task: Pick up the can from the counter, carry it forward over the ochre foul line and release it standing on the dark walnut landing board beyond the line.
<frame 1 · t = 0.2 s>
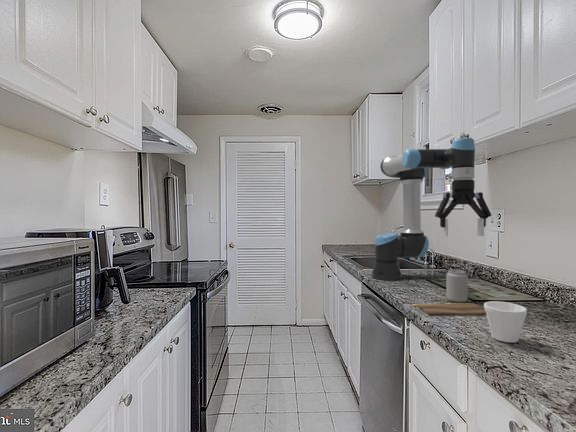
hand: (462, 235, 120), 26 cm above the countertop, fingers open, 13 cm apart
foul line: (443, 305, 120), on the countertop
landing board: (453, 310, 114), on the countertop
cup: (504, 339, 89), on the countertop
can: (456, 301, 126), on the countertop
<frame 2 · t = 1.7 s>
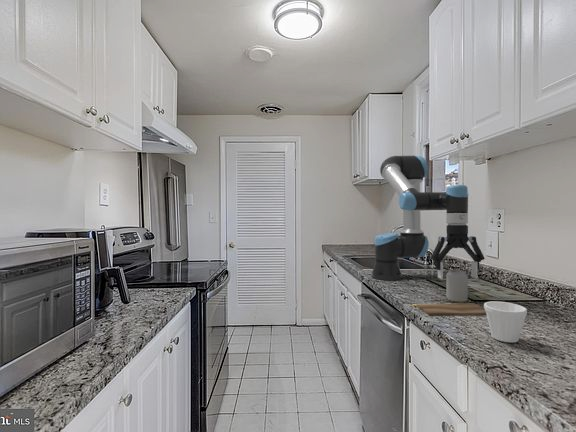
hand: (457, 278, 125), 9 cm above the countertop, fingers open, 13 cm apart
nothing on the countertop moved.
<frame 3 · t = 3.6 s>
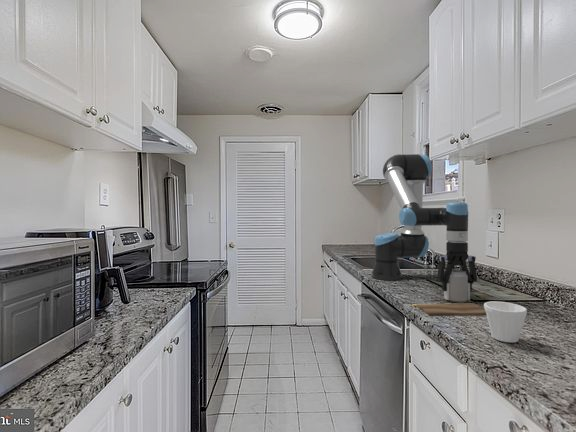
hand: (456, 298, 126), 1 cm above the countertop, fingers closed on can, 7 cm apart
can: (456, 301, 126), on the countertop, touching gripper
everything else where it was.
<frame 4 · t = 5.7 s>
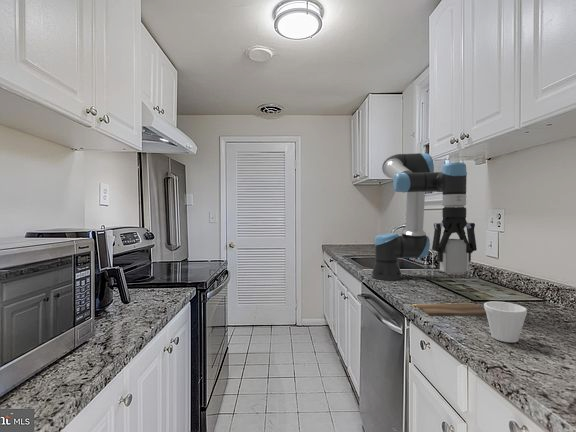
hand: (454, 270, 113), 14 cm above the countertop, fingers closed on can, 7 cm apart
can: (454, 273, 113), point 14 cm above the countertop, touching gripper
everything else where it was.
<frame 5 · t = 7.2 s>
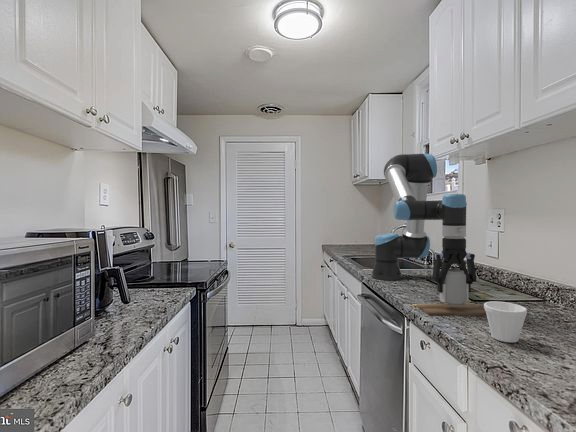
hand: (453, 301, 113), 4 cm above the countertop, fingers closed on can, 7 cm apart
can: (454, 303, 113), point 3 cm above the countertop, touching gripper
everything else where it was.
when the fingers open (3 cm above the countertop, at t = 8.1 s): can drops 1 cm, resting on landing board.
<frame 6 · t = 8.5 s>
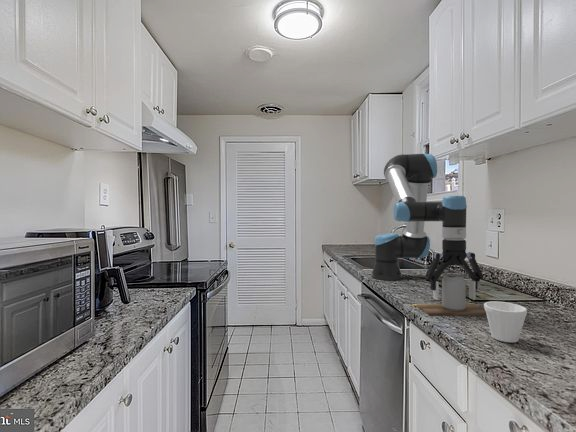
hand: (453, 298, 113), 4 cm above the countertop, fingers open, 12 cm apart
can: (453, 309, 113), point 1 cm above the countertop, touching landing board
everything else where it was.
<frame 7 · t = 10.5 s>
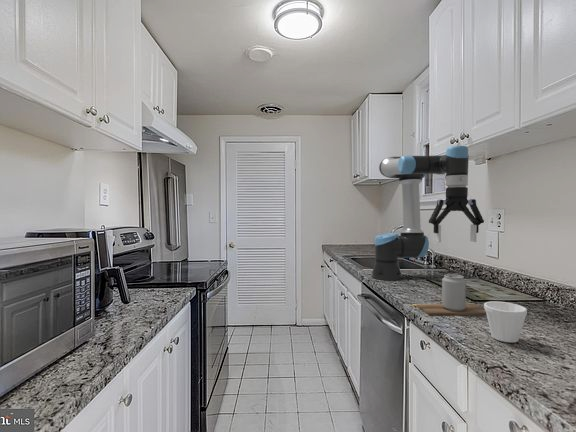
hand: (455, 241, 123), 24 cm above the countertop, fingers open, 13 cm apart
nothing on the countertop moved.
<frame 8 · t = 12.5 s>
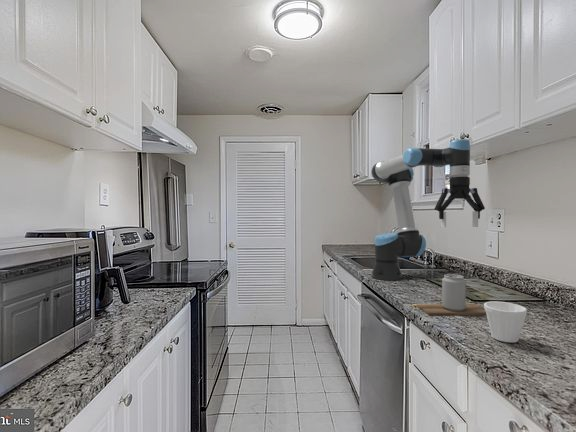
hand: (459, 227, 134), 29 cm above the countertop, fingers open, 13 cm apart
nothing on the countertop moved.
at the end: can inside the target area (0.0 cm from its centre), point 0.6 cm above the countertop; can tilted 0°; the gripper is holding nothing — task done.
